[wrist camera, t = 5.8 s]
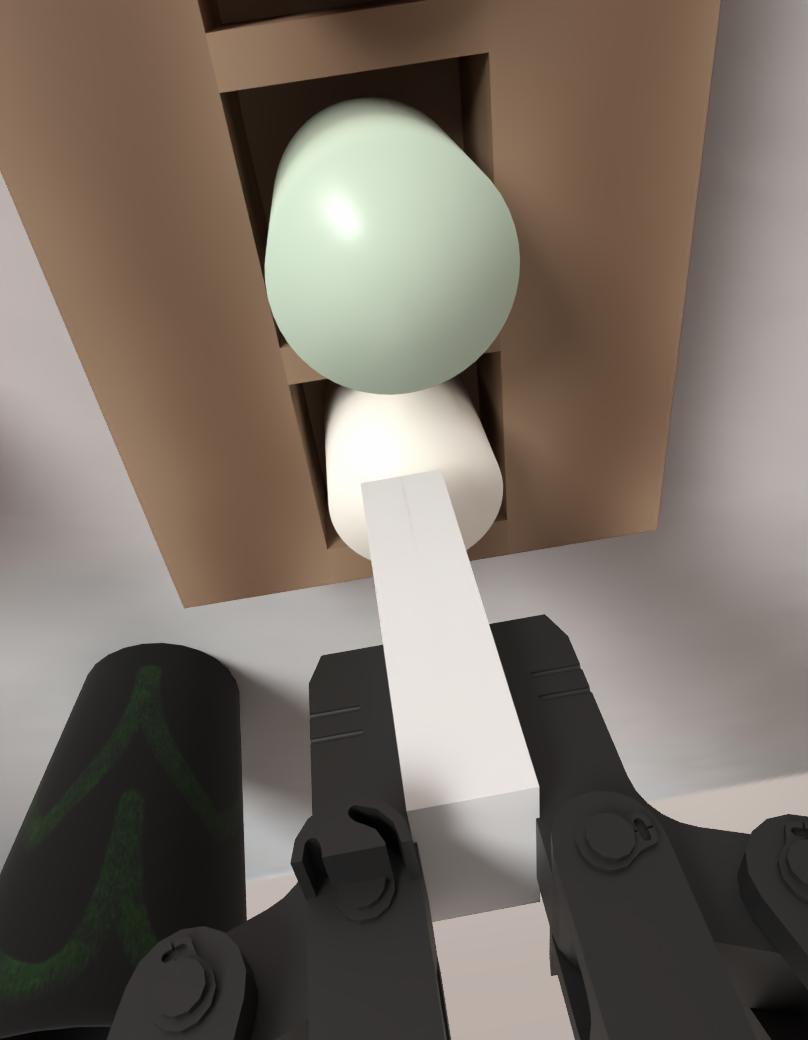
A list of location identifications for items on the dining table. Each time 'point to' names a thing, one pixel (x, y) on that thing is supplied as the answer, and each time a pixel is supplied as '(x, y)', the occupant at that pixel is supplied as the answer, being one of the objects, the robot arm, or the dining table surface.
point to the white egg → (408, 453)
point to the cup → (123, 840)
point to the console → (244, 232)
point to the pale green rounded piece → (387, 249)
